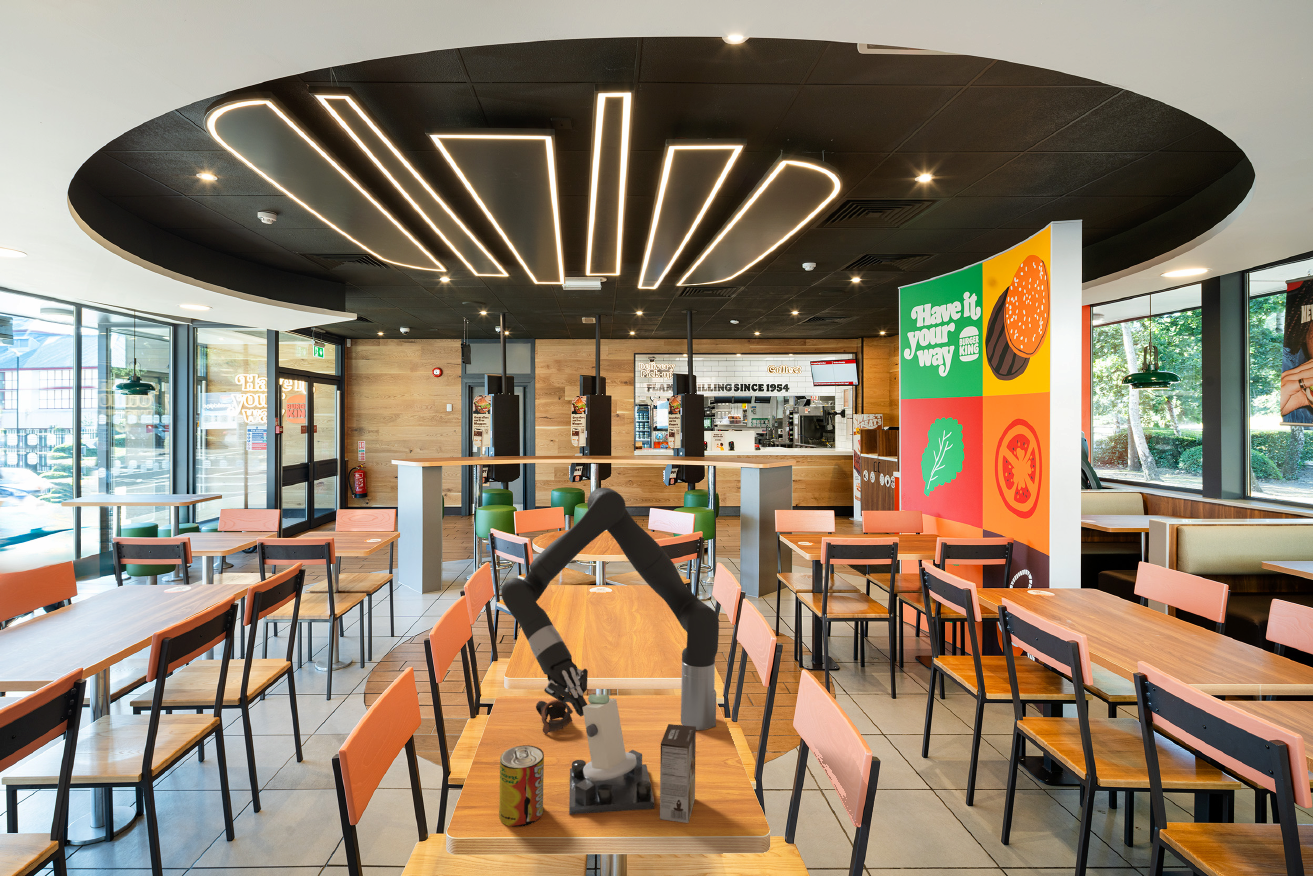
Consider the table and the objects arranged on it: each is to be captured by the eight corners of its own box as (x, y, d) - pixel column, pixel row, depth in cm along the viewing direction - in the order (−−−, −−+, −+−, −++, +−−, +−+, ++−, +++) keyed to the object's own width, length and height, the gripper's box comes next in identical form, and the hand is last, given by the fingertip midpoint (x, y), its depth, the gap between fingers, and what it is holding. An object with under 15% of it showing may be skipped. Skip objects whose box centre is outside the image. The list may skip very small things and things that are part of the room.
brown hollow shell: (580, 723, 168) (579, 704, 164) (560, 751, 161) (559, 732, 157) (545, 704, 173) (544, 685, 169) (524, 731, 166) (522, 712, 162)
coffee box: (666, 794, 135) (668, 722, 135) (695, 798, 133) (696, 725, 133) (658, 820, 126) (660, 742, 126) (689, 824, 124) (690, 746, 124)
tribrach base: (646, 769, 144) (646, 749, 144) (654, 809, 129) (654, 786, 129) (569, 774, 142) (570, 752, 142) (569, 815, 127) (569, 791, 127)
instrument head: (610, 759, 144) (597, 685, 146) (648, 762, 137) (634, 685, 139) (572, 782, 134) (560, 702, 137) (612, 787, 127) (598, 703, 130)
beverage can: (502, 831, 121) (503, 771, 121) (495, 806, 129) (496, 750, 129) (547, 820, 125) (548, 762, 125) (537, 796, 133) (538, 742, 133)
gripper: (536, 648, 141) (572, 716, 134) (576, 634, 152) (612, 696, 144) (521, 665, 144) (555, 732, 137) (561, 650, 155) (596, 712, 147)
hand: (585, 713), depth 140 cm, fingers closed
